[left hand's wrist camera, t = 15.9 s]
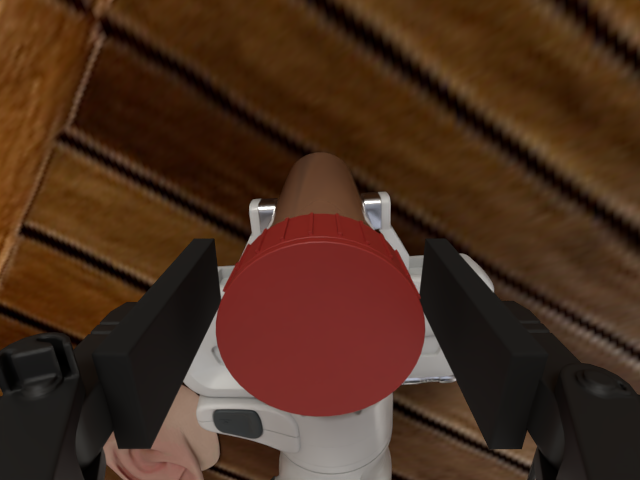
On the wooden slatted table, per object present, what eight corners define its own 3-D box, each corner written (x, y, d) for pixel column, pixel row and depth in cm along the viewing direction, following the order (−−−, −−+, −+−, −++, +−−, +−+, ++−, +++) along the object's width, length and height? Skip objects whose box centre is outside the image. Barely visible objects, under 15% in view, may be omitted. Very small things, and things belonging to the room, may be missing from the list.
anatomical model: (59, 403, 30) (200, 407, 30) (88, 369, 33) (213, 373, 33) (90, 509, 34) (211, 512, 35) (112, 469, 38) (221, 472, 38)
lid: (371, 381, 14) (382, 436, 11) (216, 342, 13) (195, 393, 11) (437, 242, 12) (464, 276, 9) (255, 186, 11) (239, 209, 9)
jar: (292, 222, 28) (254, 399, 12) (281, 157, 26) (215, 259, 10) (356, 213, 28) (410, 381, 11) (349, 147, 26) (400, 234, 10)
